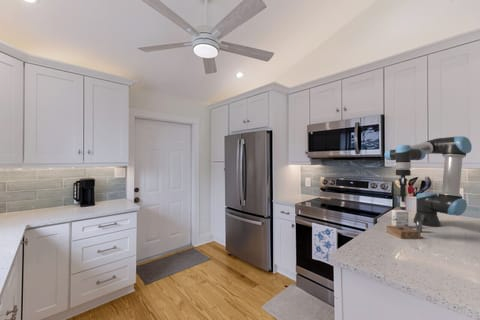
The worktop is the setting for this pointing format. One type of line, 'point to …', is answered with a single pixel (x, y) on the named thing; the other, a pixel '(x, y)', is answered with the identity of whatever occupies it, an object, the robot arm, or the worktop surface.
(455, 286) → the worktop surface
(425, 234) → the worktop surface
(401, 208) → the long pin
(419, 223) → the short pin
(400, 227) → the hole block
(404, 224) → the ink box
